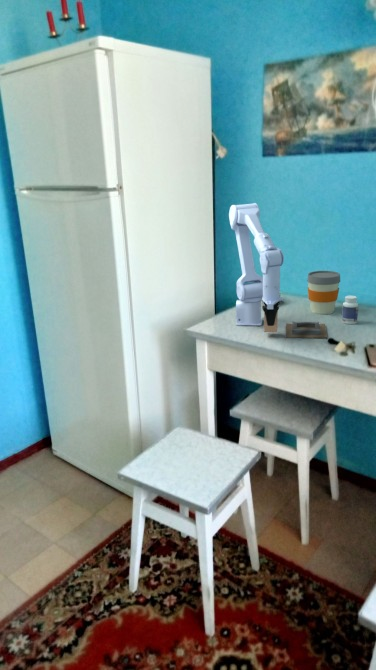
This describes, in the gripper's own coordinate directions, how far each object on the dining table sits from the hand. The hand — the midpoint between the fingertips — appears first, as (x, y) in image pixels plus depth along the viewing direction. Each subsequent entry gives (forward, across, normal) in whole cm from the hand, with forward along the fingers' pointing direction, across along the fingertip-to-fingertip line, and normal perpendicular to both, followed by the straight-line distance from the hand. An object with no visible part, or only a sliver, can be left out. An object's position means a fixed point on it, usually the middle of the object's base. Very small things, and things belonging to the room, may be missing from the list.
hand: (271, 323), depth 169 cm
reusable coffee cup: (+5, +30, -19) cm, 36 cm away
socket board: (+5, +5, -12) cm, 14 cm away
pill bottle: (+5, +16, -28) cm, 33 cm away
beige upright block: (+3, 0, 0) cm, 3 cm away
